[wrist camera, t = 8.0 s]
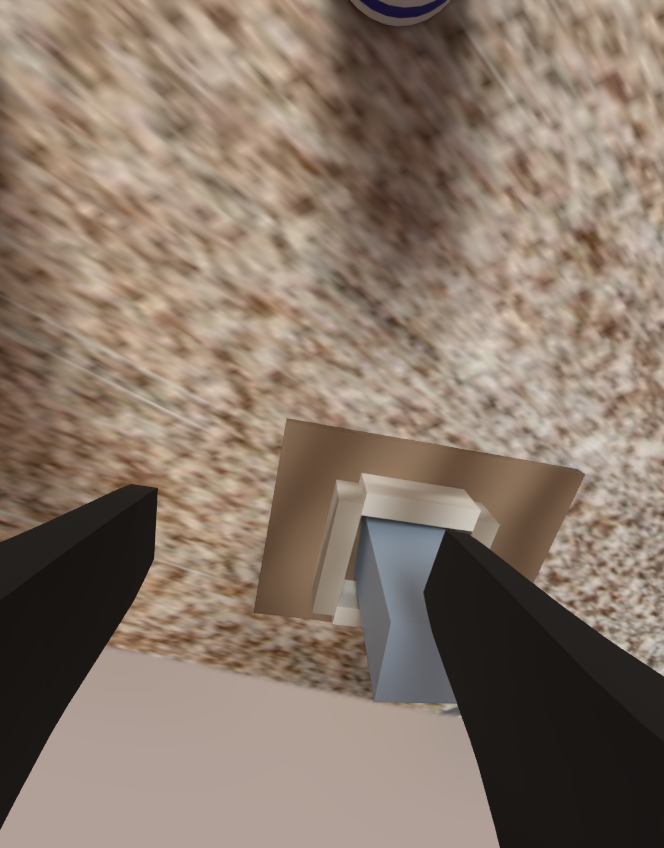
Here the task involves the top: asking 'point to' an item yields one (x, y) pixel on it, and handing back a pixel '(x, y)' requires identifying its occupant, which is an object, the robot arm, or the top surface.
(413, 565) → the pale blue square prism
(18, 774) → the robot arm
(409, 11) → the energy drink
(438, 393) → the top surface
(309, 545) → the well
